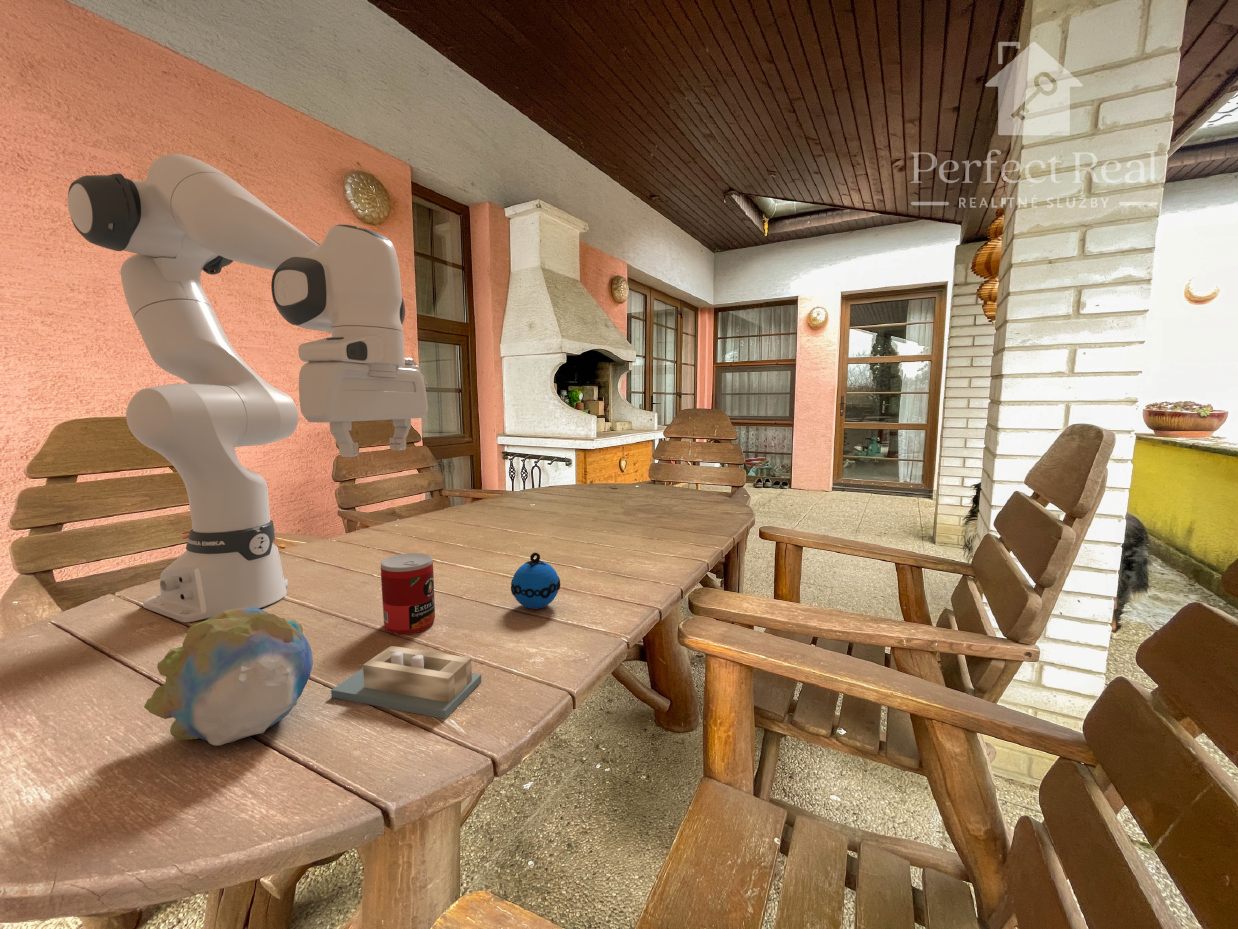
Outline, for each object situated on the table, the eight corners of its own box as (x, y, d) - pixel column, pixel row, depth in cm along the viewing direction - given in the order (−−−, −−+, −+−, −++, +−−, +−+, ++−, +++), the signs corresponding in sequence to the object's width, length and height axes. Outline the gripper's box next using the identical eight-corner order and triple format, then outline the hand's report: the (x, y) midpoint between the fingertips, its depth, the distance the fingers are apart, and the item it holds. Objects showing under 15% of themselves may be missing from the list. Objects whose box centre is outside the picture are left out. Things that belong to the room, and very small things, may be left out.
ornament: (522, 621, 83) (521, 563, 82) (504, 604, 90) (503, 550, 89) (568, 610, 88) (568, 555, 87) (548, 594, 95) (547, 543, 94)
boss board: (331, 697, 62) (329, 663, 61) (378, 664, 69) (376, 634, 69) (445, 718, 58) (444, 682, 57) (481, 681, 65) (480, 649, 65)
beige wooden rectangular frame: (364, 687, 62) (362, 664, 62) (392, 667, 67) (390, 645, 66) (449, 702, 59) (448, 678, 59) (471, 680, 64) (471, 658, 63)
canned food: (418, 637, 77) (414, 569, 76) (372, 632, 79) (368, 565, 78) (444, 617, 85) (442, 554, 83) (402, 613, 86) (399, 551, 85)
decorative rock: (247, 615, 49) (309, 570, 64) (67, 678, 46) (175, 616, 61) (302, 737, 51) (350, 666, 66) (133, 804, 48) (222, 715, 63)
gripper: (401, 359, 79) (405, 446, 81) (285, 345, 59) (294, 460, 61) (435, 358, 77) (439, 447, 79) (328, 343, 58) (336, 462, 60)
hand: (375, 453), depth 70 cm, fingers open, 8 cm apart
